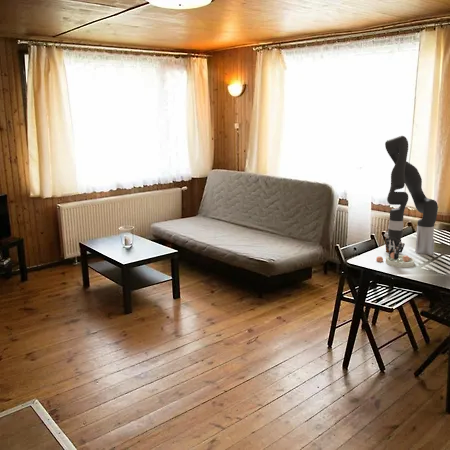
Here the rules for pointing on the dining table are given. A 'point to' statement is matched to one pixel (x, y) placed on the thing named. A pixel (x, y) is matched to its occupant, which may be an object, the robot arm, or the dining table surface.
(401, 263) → the ring tray
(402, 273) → the dining table surface
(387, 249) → the disposable coffee cup
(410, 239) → the dining table surface
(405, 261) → the salmon orange ball
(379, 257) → the peach orange ball
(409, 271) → the dining table surface
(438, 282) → the dining table surface
